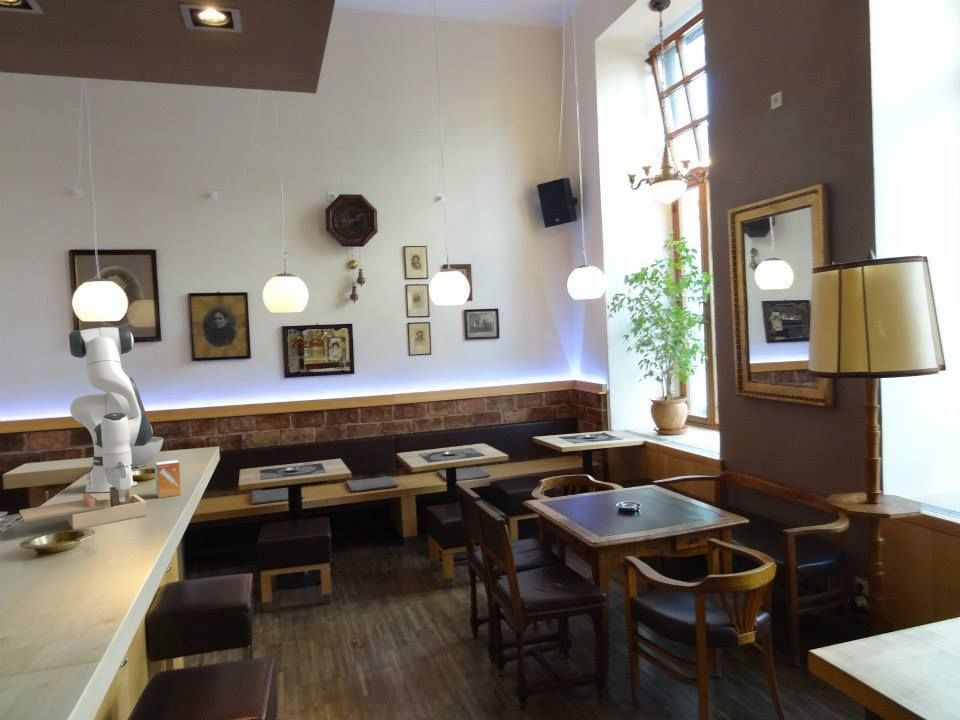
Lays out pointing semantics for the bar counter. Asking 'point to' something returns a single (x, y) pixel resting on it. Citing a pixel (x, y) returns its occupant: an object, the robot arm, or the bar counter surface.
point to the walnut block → (115, 495)
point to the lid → (61, 508)
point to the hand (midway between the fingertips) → (119, 500)
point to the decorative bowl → (145, 452)
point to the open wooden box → (108, 513)
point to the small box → (167, 478)
